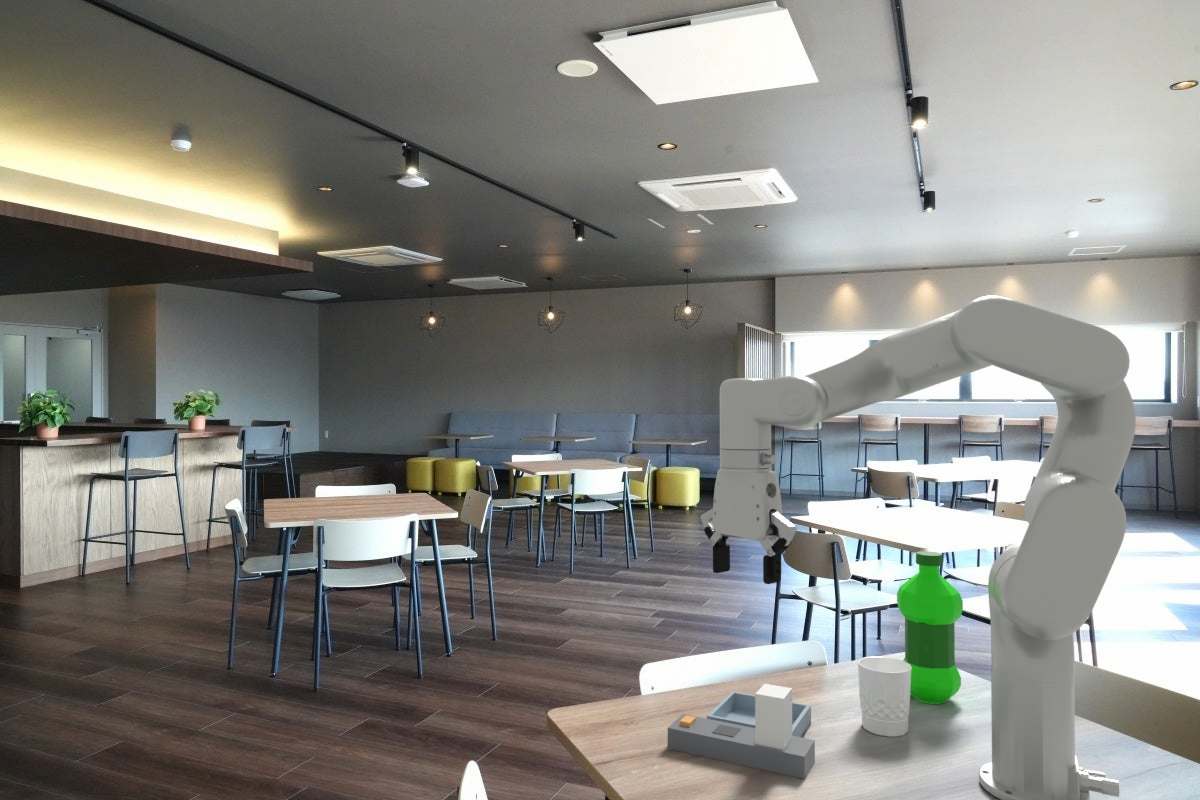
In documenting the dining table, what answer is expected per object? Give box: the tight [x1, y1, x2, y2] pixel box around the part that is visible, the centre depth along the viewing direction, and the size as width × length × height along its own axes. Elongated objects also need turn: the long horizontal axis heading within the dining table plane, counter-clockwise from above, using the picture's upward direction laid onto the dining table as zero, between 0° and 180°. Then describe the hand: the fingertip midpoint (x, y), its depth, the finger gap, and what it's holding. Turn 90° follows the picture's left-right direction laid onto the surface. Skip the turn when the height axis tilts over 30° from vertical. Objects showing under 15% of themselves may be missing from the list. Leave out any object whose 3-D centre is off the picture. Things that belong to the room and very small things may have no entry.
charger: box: [754, 683, 793, 750], centre depth 109 cm, size 4×5×9 cm
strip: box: [667, 713, 816, 780], centre depth 111 cm, size 20×6×4 cm, turn 62°
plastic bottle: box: [896, 550, 964, 705], centre depth 134 cm, size 10×10×25 cm
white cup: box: [857, 655, 912, 738], centre depth 121 cm, size 8×8×10 cm
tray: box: [706, 690, 812, 738], centre depth 120 cm, size 13×12×3 cm
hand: (746, 577), depth 114 cm, fingers open, 9 cm apart
